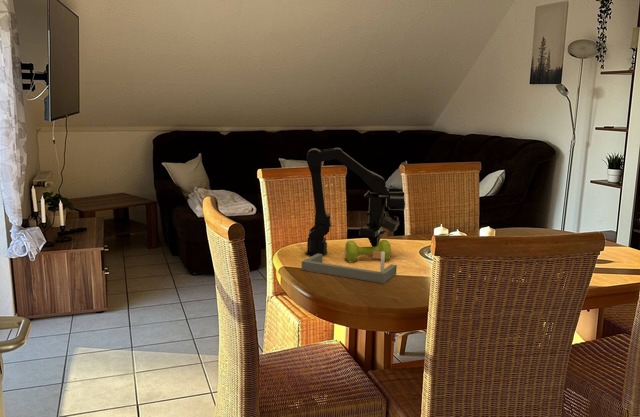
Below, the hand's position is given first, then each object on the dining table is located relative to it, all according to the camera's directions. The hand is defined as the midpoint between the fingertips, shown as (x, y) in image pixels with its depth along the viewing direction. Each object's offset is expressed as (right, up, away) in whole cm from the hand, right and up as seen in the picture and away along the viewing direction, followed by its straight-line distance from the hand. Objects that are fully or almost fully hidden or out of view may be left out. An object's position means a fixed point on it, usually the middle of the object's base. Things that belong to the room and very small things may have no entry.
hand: (375, 250), depth 223 cm
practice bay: (-11, -6, -21) cm, 24 cm away
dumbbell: (-3, -3, -6) cm, 8 cm away
